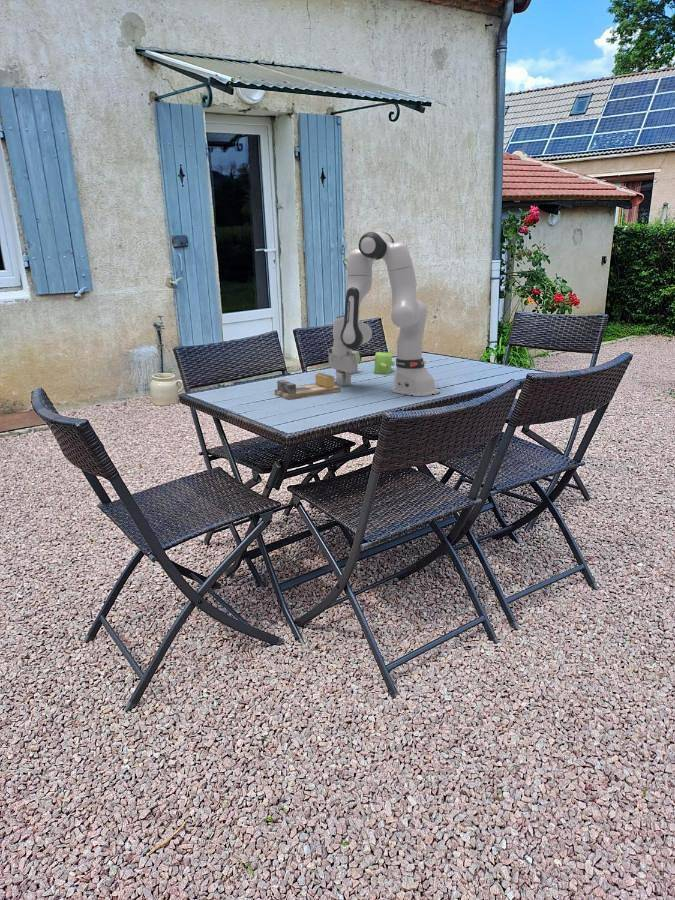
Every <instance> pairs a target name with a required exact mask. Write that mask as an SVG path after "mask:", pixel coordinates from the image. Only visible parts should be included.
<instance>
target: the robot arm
mask: <svg viewBox="0 0 675 900" xmlns="http://www.w3.org/2000/svg"><path fill="white" fill-rule="evenodd" d="M358 241H359V242H358V248H356V249H353V250H351V251H350V252H349V254H348V257H347V258H348V259H347V265H346V266H347V267H346V268H347V269H346V274H347V275H346V295H345V302H344V303H345V304H344V314H343V315H340V316H336V317H335V318H334V319H333V323H332V336H333V337H332V338H333V344H332V347H329V348H328V349H327V352H328V365H329V368H330V369H334V370H335V373H336V372H339V371H343V372H346V377H345V381H347V382H348V381H350V375H353V374H357V373H358V372H359V368H358V365H359V364H357V359H356V357H355V355H354V353H352V351H353V349H357V348H358V347H360V346H362V345H364V344H366V343H368V342H369V341H371V340H372V338H373V331H372V328H371V326H370V325H369V324H367V323H365V322H361V321H360V320H359V319H360V306H361V303H362V301H363V299H364V298H365V297H366V296H367V295H368V293H370V291H371V288H372V283H373V264H374V262H375V261H377V260H379V261H380V260H383V261H384V262H385V264H386V270H387V274H388V279H389V284H390V289H391V303H392V304H391V305H392V307H391V308H392V310H391V315H390V318H391V321H392V324H393V325H394V326H396V327H397V328H399V329H400V330H399V334H398V337H397V339H396V340H397V341H396V358H395V366H396V370H395V372H394V378H393V387H392V388H391V393H396V394H402V395H406V394H407V396H411V395H413V396H412V397H426V396H432V394H434V395H437V393H438V394H440V393H441V390H440V389H438V388H436V387H435V385H436V384H435V378H434V377H433V376H432V375H431V374H430V372H429V371H428V370H427V369H426V367H425V364H426V360H424V358H423V339H424V338H423V337H424V332H425V326H426V318H427V316H428V308H427V304H425V303H424V302H422V301H421V300H418V299H417V284H418V283H417V279H416V274H415V270H414V269H415V268H414V264H413V261H412V257H411V253H410V251H409V248H408V246H407V245H406V244H405V243H403V242H395V240H394V238H393V237H392V235H390V234H389V233H387V232H383V231H369V232H365V233H364V234H362V235H361V237H360V239H359V240H358ZM353 355H354V356H353ZM439 392H440V393H439Z"/></svg>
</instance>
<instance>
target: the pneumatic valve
mask: <svg viewBox="0 0 675 900" xmlns="http://www.w3.org/2000/svg"><path fill="white" fill-rule="evenodd" d="M352 353H354V355H355V357H356V359H357V365H359V364H361V362H362V358H363V357H362V353H361V351H360V350H353V349H352ZM354 355H353V356H354Z"/></svg>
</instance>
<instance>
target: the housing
mask: <svg viewBox="0 0 675 900" xmlns="http://www.w3.org/2000/svg"><path fill="white" fill-rule="evenodd" d="M351 375H352V374H351ZM351 375H350V381H348V382H347V381H345V377H346V372H343V371H339V372H336V371H335V380H336V381H335V382H336V383H335V384H337V385H336V386H339V387H347V386H351V385H352V376H351ZM346 385H347V386H346Z"/></svg>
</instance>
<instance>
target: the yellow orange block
mask: <svg viewBox="0 0 675 900" xmlns="http://www.w3.org/2000/svg"><path fill="white" fill-rule="evenodd" d="M315 384H318V385H321V386H324V387H334V385H335V375H330V374H327V373H324V372H317V373H316V374H315Z"/></svg>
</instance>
